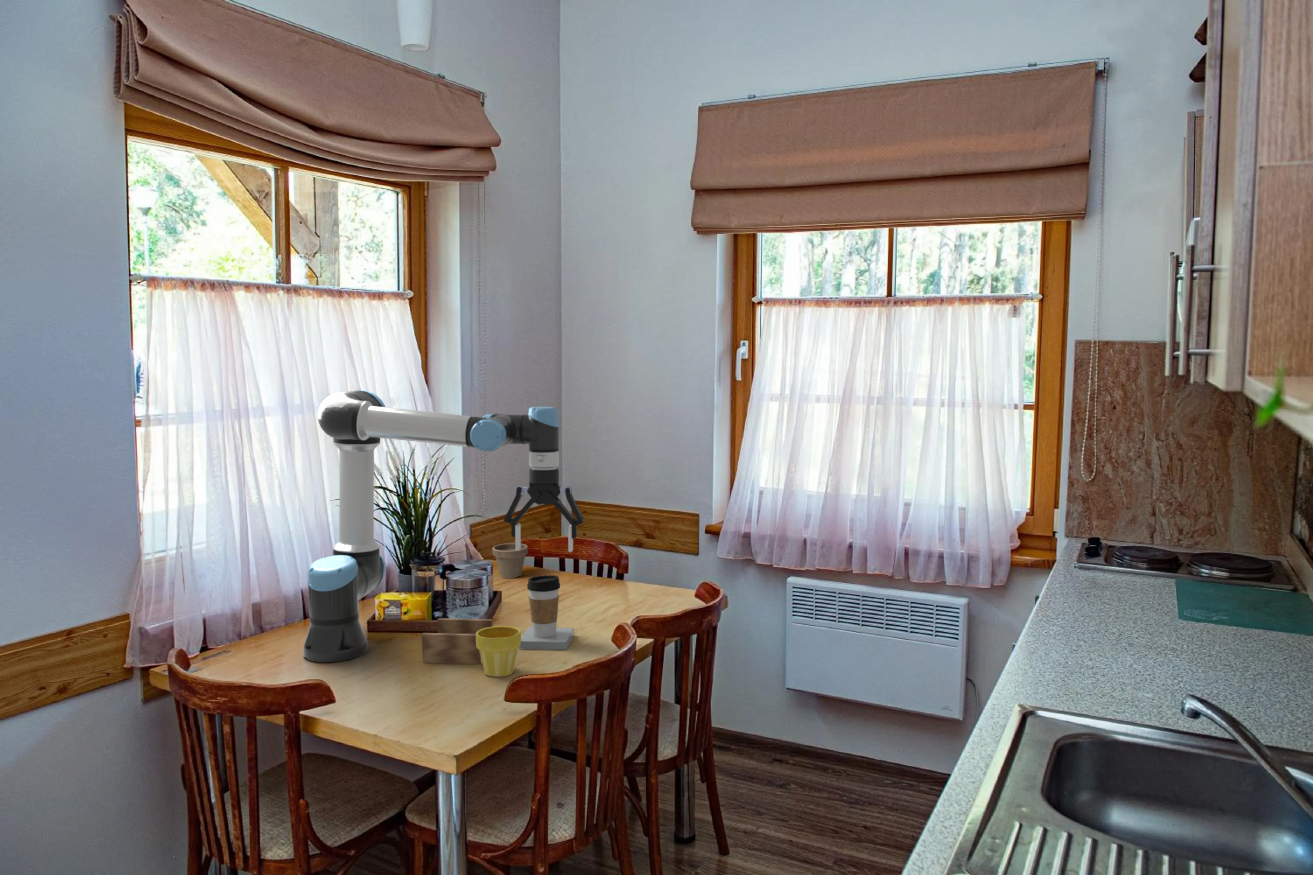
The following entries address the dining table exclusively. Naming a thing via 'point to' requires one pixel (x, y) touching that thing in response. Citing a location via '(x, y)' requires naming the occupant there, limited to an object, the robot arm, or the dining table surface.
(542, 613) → the coffee cup
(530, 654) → the dining table surface
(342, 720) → the dining table surface
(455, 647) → the rack
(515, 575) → the flower pot
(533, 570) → the dining table surface
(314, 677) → the dining table surface
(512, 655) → the plant pot
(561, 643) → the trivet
